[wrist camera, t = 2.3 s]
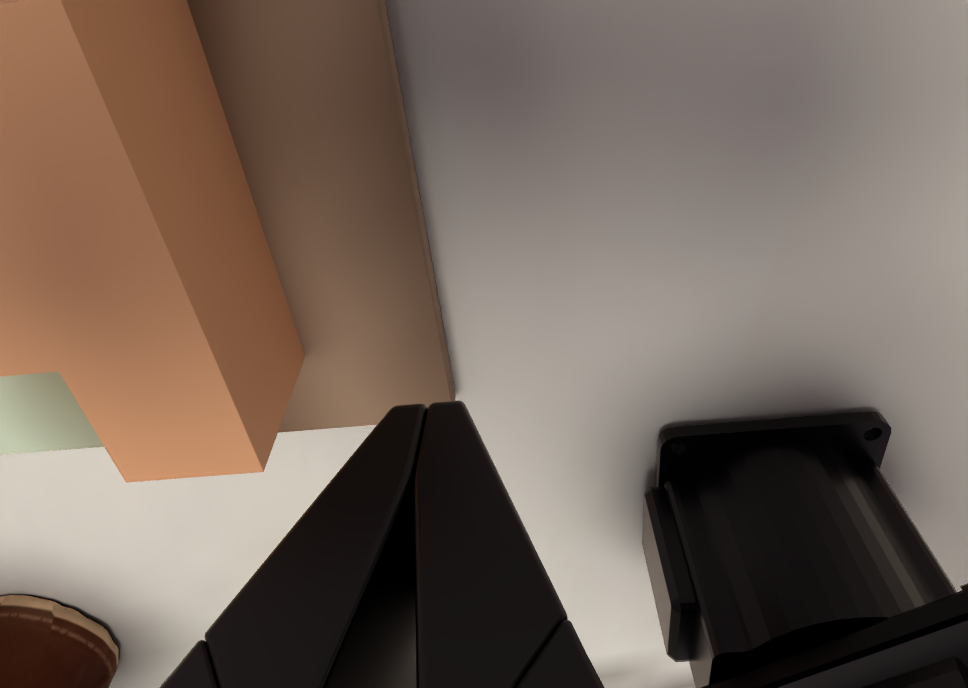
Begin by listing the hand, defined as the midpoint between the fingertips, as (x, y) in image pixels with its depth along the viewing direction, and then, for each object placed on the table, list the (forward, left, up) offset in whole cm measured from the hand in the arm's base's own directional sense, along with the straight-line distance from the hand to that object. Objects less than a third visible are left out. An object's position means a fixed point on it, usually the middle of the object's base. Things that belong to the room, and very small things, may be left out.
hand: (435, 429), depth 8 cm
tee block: (+9, 0, -8) cm, 12 cm away
